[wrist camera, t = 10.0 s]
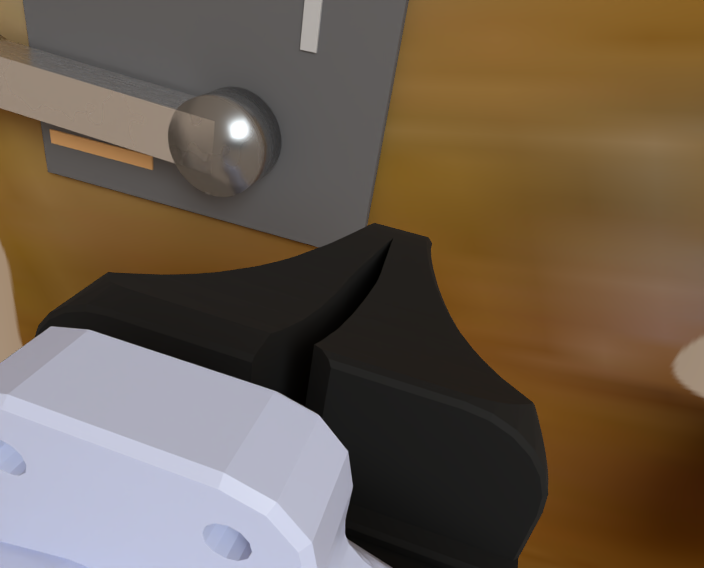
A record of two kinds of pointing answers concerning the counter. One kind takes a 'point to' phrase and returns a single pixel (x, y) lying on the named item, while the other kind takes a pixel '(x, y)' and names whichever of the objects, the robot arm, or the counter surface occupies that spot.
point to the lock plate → (249, 73)
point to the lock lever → (147, 117)
